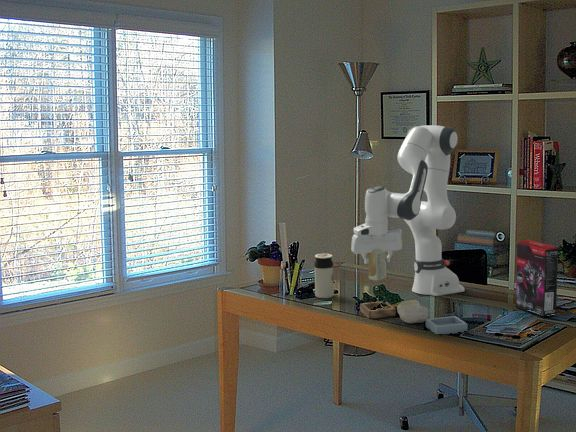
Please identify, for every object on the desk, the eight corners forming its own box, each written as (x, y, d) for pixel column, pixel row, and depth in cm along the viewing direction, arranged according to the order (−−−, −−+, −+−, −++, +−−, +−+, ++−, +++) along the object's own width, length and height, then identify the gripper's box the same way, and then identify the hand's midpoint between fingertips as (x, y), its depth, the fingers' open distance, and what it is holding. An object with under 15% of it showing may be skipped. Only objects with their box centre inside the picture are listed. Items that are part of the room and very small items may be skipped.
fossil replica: (434, 322, 300) (414, 318, 308) (434, 300, 299) (414, 297, 307) (412, 326, 292) (393, 322, 300) (412, 304, 292) (392, 301, 300)
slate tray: (455, 323, 296) (455, 316, 296) (467, 331, 287) (467, 323, 286) (425, 326, 294) (425, 319, 293) (436, 335, 284) (436, 327, 284)
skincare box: (378, 276, 314) (378, 246, 312) (386, 277, 311) (386, 247, 309) (367, 279, 309) (367, 248, 307) (376, 281, 306) (376, 250, 304)
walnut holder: (385, 308, 319) (385, 301, 318) (395, 315, 308) (395, 308, 308) (360, 310, 316) (359, 303, 316) (369, 318, 306) (368, 311, 305)
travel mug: (312, 297, 338) (311, 256, 334) (320, 292, 345) (319, 252, 341) (329, 299, 334) (328, 258, 331) (336, 294, 341) (335, 254, 338)
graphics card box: (513, 307, 314) (515, 240, 310) (527, 305, 317) (529, 238, 312) (543, 319, 299) (545, 248, 294) (557, 316, 301) (559, 246, 297)
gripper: (398, 224, 312) (399, 258, 314) (349, 228, 307) (350, 263, 310) (404, 227, 306) (405, 262, 308) (354, 231, 301) (355, 266, 304)
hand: (377, 262), depth 309 cm, fingers closed on skincare box, 7 cm apart
